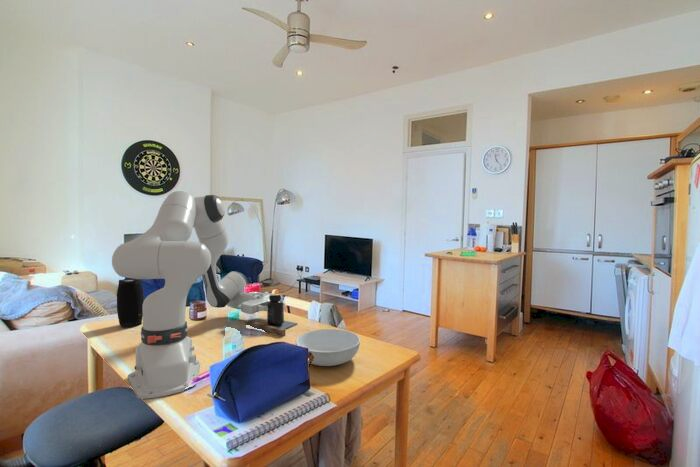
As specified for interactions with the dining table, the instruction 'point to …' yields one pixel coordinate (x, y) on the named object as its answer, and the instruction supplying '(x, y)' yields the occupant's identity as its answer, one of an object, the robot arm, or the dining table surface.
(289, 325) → the grey mat
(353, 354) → the serving bowl
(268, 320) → the supplement bottle
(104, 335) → the dining table surface
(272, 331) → the walnut rail
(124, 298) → the portable speaker
